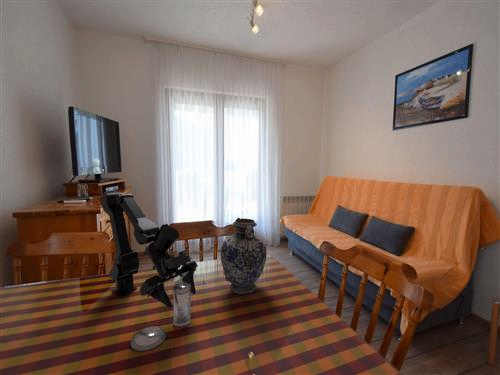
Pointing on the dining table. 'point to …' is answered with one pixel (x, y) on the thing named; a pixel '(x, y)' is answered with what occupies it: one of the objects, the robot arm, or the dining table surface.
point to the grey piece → (181, 304)
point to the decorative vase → (243, 257)
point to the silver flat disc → (148, 338)
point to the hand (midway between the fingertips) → (183, 300)
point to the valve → (179, 279)
